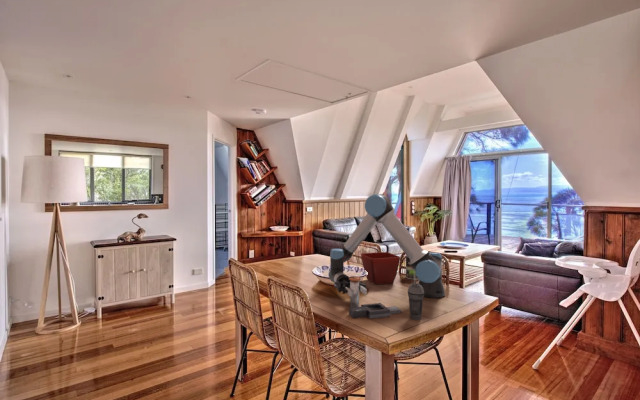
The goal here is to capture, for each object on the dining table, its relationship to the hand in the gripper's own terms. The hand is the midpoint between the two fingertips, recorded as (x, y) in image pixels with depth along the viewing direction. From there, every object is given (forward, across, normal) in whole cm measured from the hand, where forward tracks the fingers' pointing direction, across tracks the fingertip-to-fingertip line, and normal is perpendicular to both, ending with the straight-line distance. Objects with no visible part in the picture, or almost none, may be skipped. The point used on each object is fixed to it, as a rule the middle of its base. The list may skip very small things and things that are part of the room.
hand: (358, 292), depth 161 cm
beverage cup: (+17, -20, -8) cm, 28 cm away
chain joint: (+7, -5, -8) cm, 12 cm away
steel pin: (-5, 0, -8) cm, 9 cm away
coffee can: (-45, -58, -8) cm, 74 cm away
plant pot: (-43, -32, -8) cm, 54 cm away
